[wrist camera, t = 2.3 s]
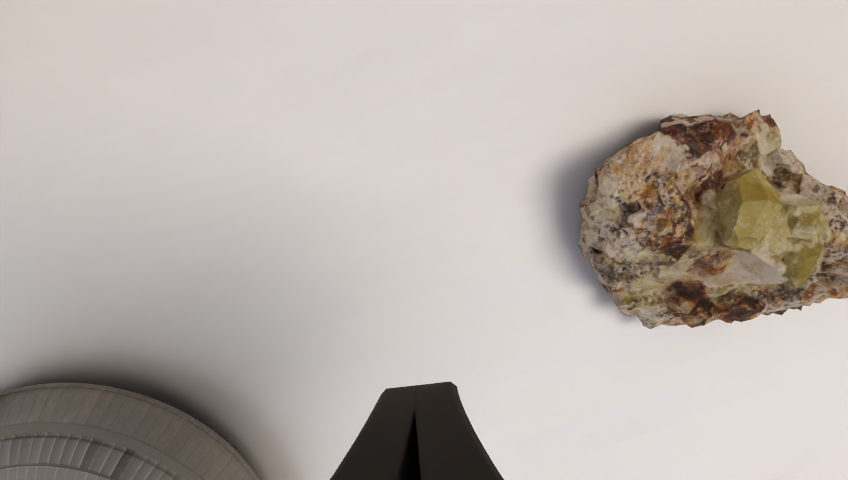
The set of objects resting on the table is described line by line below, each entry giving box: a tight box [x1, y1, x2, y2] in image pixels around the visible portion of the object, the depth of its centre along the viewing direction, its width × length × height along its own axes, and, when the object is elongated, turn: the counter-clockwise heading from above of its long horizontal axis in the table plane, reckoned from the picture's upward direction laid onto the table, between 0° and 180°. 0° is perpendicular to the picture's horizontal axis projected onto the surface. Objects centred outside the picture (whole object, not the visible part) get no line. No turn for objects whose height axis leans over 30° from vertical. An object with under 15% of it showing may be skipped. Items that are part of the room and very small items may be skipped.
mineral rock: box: [578, 110, 848, 329], centre depth 16 cm, size 11×4×8 cm
